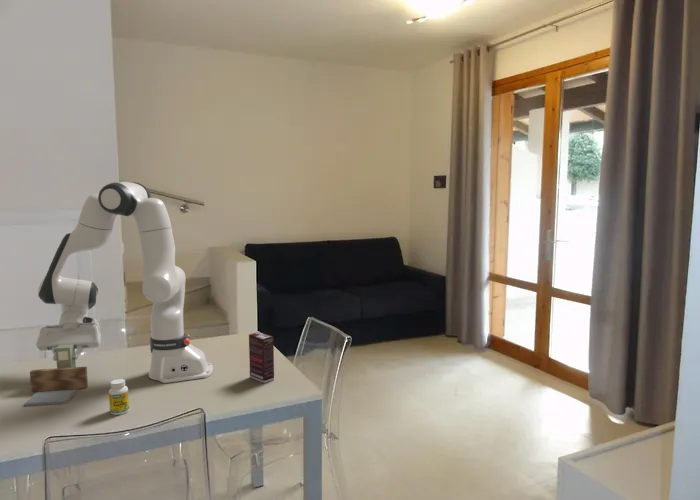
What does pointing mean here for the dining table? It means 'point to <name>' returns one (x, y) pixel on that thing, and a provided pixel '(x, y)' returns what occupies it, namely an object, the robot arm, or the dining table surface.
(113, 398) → the supplement bottle
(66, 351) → the olive letter block
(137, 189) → the robot arm
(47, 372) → the walnut screen
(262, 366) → the supplement box
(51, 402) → the display mat
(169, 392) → the dining table surface
